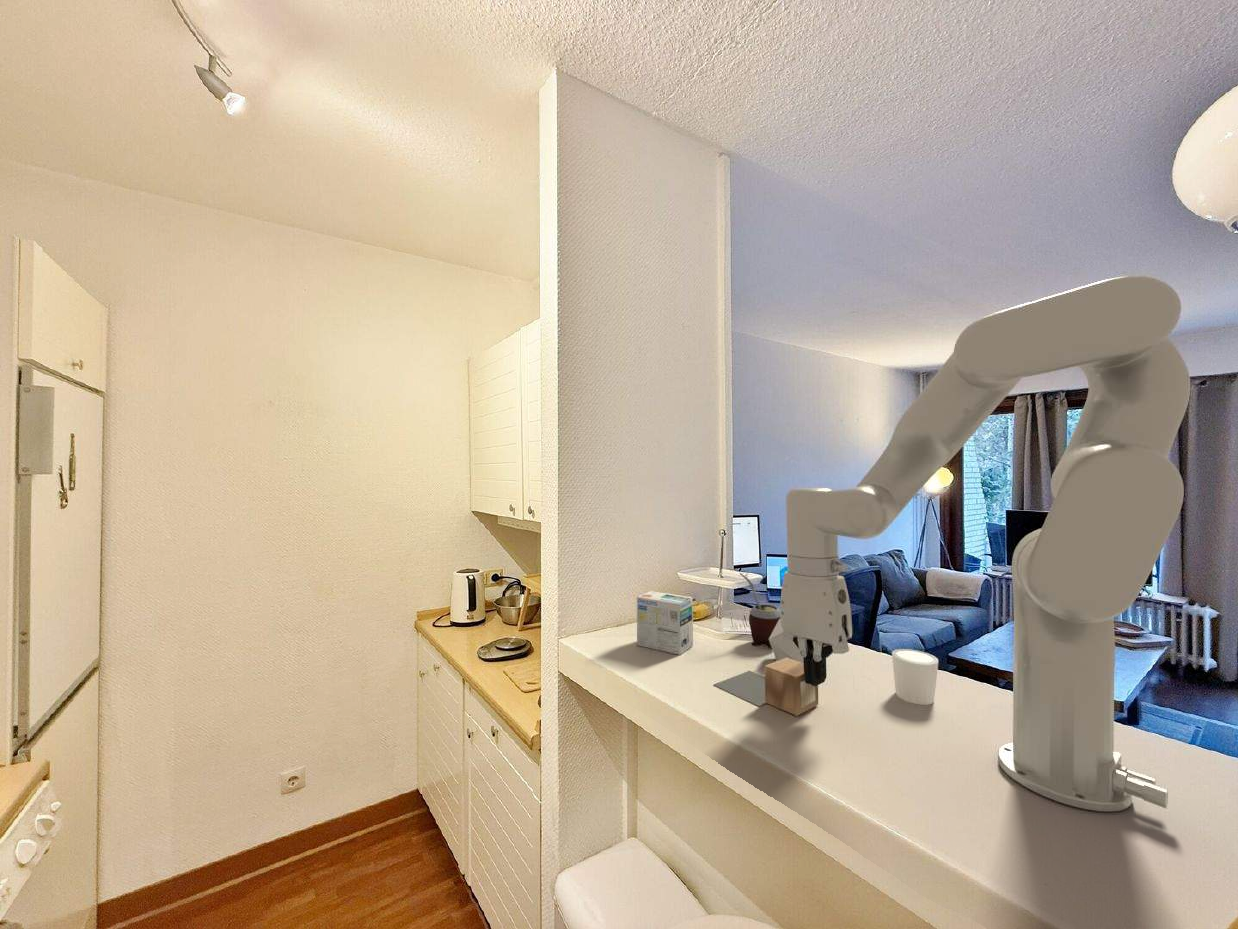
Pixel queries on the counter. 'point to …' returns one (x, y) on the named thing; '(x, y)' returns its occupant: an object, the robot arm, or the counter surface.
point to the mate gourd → (762, 620)
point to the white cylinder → (915, 676)
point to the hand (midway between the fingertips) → (815, 682)
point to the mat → (746, 687)
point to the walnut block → (789, 687)
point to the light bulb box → (665, 622)
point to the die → (783, 645)
